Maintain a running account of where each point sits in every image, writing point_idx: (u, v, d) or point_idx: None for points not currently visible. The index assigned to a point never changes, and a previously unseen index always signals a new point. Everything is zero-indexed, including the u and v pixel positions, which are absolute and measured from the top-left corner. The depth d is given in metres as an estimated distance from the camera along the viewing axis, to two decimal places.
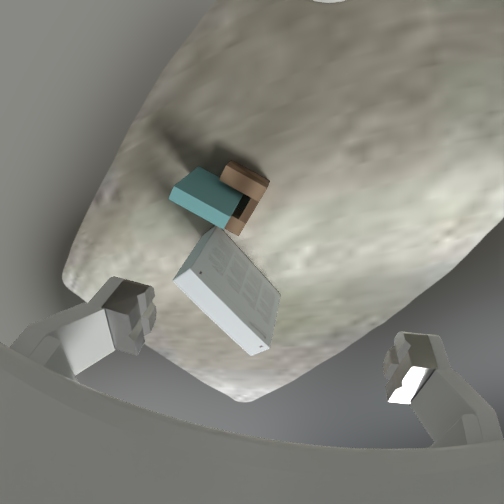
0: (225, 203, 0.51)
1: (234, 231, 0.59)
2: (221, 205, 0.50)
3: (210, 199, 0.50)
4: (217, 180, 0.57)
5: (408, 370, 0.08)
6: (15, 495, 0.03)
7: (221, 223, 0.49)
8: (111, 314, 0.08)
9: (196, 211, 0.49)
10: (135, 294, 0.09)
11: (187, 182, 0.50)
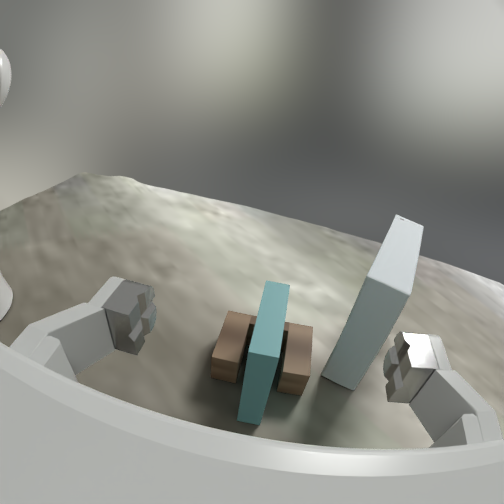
0: None
1: (308, 332, 0.38)
2: None
3: None
4: None
5: (408, 370, 0.08)
6: (15, 495, 0.03)
7: (281, 287, 0.32)
8: (111, 314, 0.08)
9: (279, 315, 0.28)
10: (135, 294, 0.09)
11: None
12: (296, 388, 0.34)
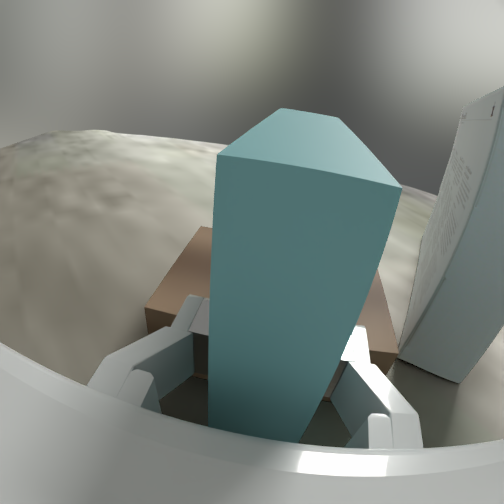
0: None
1: None
2: None
3: None
4: None
5: None
6: (15, 495, 0.03)
7: (320, 115, 0.12)
8: (199, 338, 0.08)
9: (335, 129, 0.08)
10: None
11: None
12: None
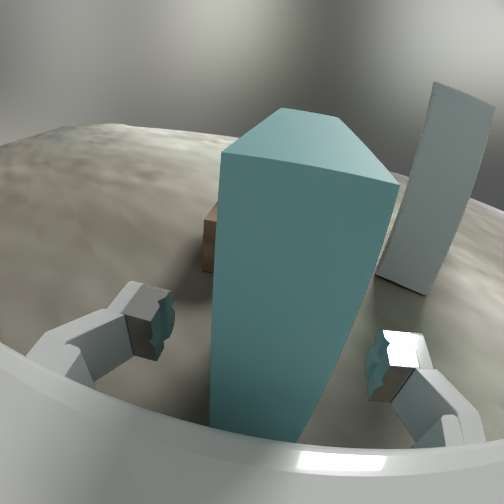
0: None
1: None
2: None
3: None
4: None
5: (387, 368, 0.08)
6: (15, 495, 0.03)
7: (320, 115, 0.12)
8: (131, 320, 0.08)
9: (335, 129, 0.08)
10: (155, 299, 0.09)
11: None
12: None
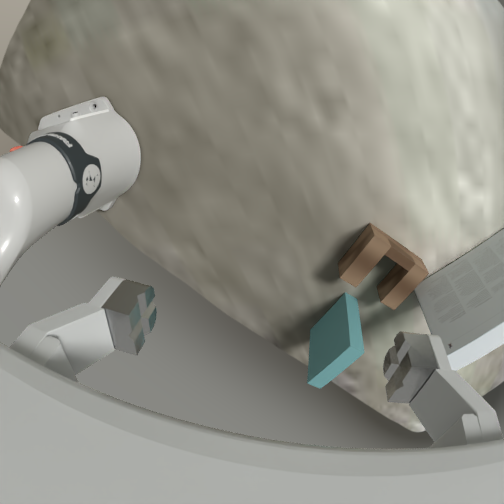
0: (341, 336, 0.43)
1: (422, 277, 0.41)
2: (340, 344, 0.42)
3: (331, 351, 0.43)
4: (325, 320, 0.51)
5: (408, 370, 0.08)
6: (15, 495, 0.03)
7: (356, 353, 0.40)
8: (111, 314, 0.08)
9: (338, 370, 0.42)
10: (135, 294, 0.09)
11: (312, 362, 0.47)
12: None
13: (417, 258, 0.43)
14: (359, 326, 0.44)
